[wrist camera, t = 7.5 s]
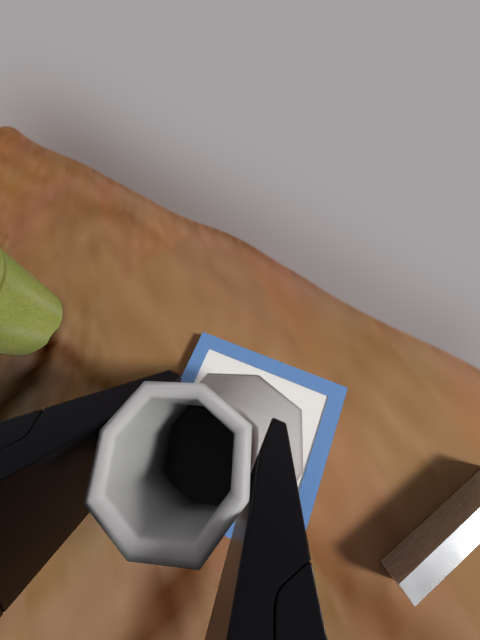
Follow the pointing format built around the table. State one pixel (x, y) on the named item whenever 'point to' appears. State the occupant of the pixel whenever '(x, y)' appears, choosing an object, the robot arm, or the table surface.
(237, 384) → the flask
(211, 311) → the table surface
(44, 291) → the plant pot
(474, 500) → the grey u-shaped bracket
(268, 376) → the white tile
